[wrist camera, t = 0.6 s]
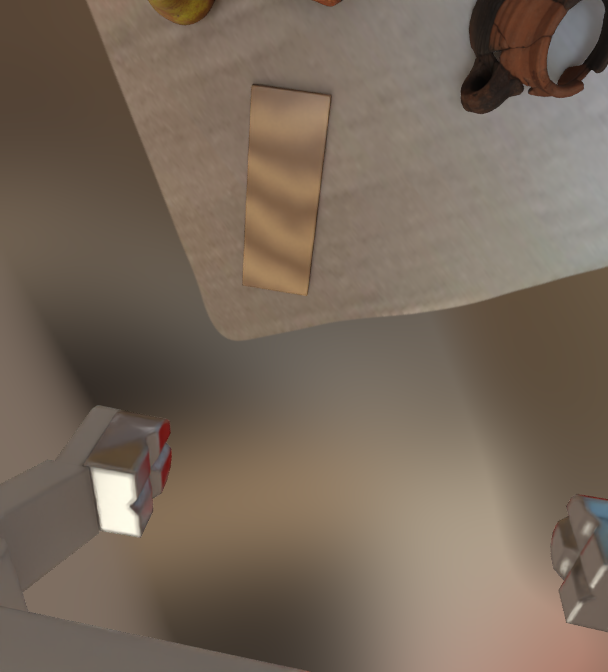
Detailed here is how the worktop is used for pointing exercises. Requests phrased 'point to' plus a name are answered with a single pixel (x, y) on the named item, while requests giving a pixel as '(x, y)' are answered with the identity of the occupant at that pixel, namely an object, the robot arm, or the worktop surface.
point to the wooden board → (283, 186)
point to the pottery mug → (521, 52)
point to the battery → (328, 2)
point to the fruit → (182, 10)
